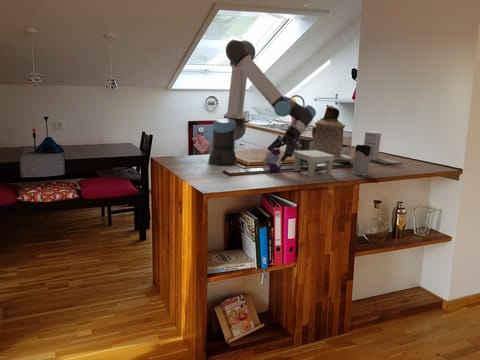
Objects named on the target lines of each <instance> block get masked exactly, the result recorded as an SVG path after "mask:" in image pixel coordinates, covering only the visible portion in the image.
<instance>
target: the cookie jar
mask: <svg viewBox="0 0 480 360" xmlns="http://www.w3.org/2000/svg"><path fill="white" fill-rule="evenodd" d="M339 116H340V110H339V109H338V108H337V107H334V106H333V105H329V104H326V109H325V111H324V116H323V117H322V118H320V119H318V120H317V121H316V122H314V125H315V126H312V130H311V136H312V137H311V138H314V139H315V140H314V147H313V150H317V151H321V152H324V153H328V154H331V155H334V156H335V160H339V161H340V160H341V161H343V160H344V161H351V159H352V157H351V156H348V155H345V154H343V153H342V154H341V152H342V150H343V145H344V129H345V127H346V125H345V124H343V123H342V122H341V121H339Z"/></svg>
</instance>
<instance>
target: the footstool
mask: <svg viewBox="0 0 480 360" xmlns="http://www.w3.org/2000/svg"><path fill="white" fill-rule="evenodd" d="M292 156H293V157H294V159H295V161H293V162H294V163H293V171H295V172H299V171H300V170H301V169H300V168H301V164H300V161H301V159H304V160H307V161H309V164H307V165H308V166H307V173H306V174H307V176H308V177H314V175H315V174H314V173H315V170H317V169H318V164H319V163H320V162H326V163H325V171H324V174H325V175H328V176H330V175H332V171H333V169H332V168H333V162H334V161H335V160H336V159H335V156H334V155H331V154H328V153H324V152H321V151H317V150H309V151H294V153H293V155H292ZM318 162H319V163H318Z"/></svg>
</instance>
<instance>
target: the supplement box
mask: <svg viewBox="0 0 480 360" xmlns="http://www.w3.org/2000/svg"><path fill="white" fill-rule="evenodd" d="M364 133H365V134H364V140H363V145H367V146H370V147H372V148H373V153H372V157H371V160H370V161H376V160H377V161H378V159H379V150H380V147H381V146H380V144H381V138H382V137H381V136H382V131H374V130H366V131H365V132H364ZM371 151H372V150H370V156H371Z"/></svg>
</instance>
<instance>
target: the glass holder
mask: <svg viewBox="0 0 480 360" xmlns="http://www.w3.org/2000/svg"><path fill="white" fill-rule="evenodd" d="M370 150H372V151H371V156H370ZM372 153H373V148H372V147H370V146H367V145H364V144H356V146H355V150H354V156H353V164H352V171H351V173H352V174H351V175H353V174H354V176H357V175H368V176H369V166H370V162H371V161H372V160H371V157H372Z"/></svg>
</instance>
